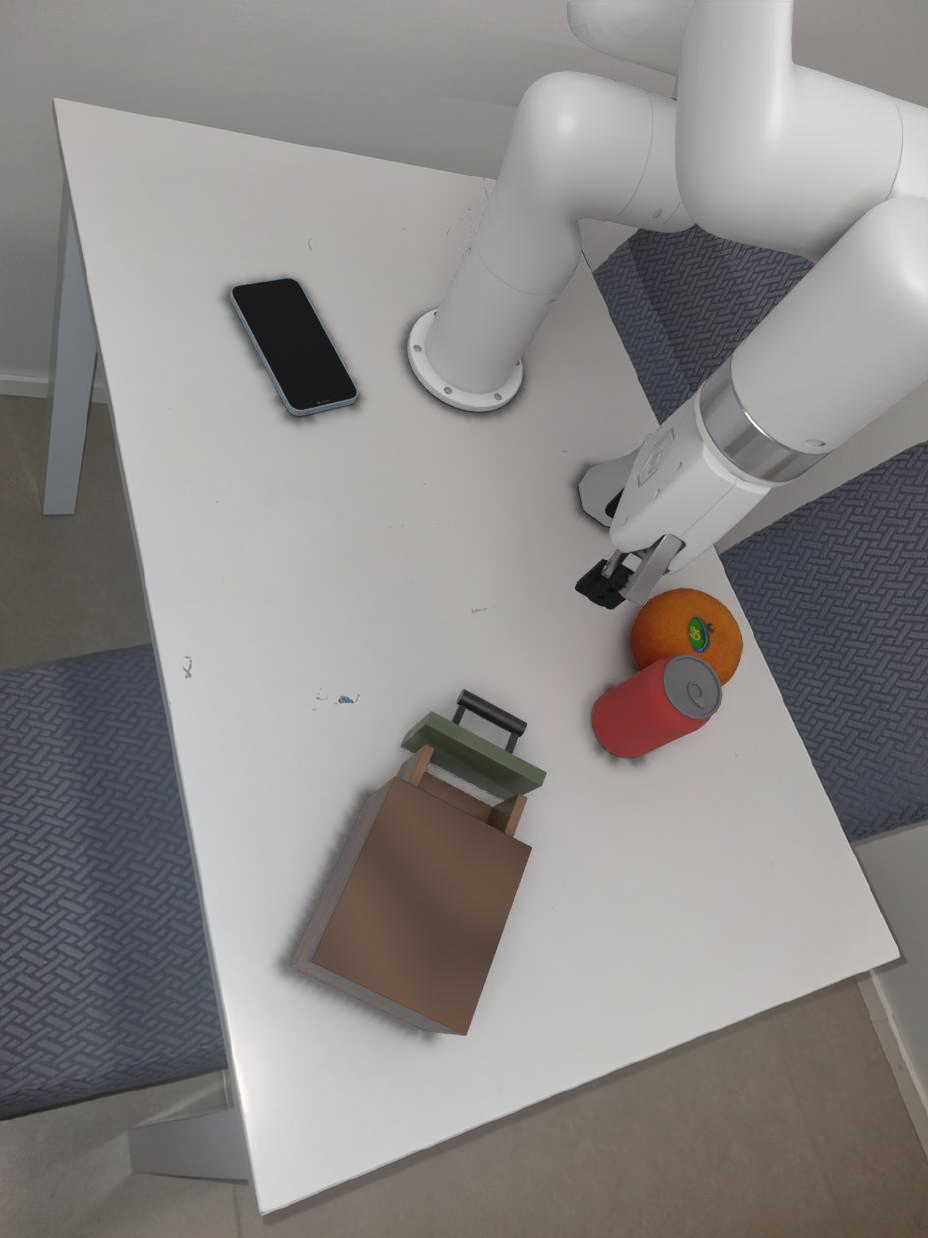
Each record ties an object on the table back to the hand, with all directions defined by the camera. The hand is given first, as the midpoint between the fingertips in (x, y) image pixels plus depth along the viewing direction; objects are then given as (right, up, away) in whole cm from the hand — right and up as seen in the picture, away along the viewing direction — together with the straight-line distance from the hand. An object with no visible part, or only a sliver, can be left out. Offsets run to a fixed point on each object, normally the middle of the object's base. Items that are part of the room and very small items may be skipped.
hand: (608, 556), depth 63 cm
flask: (+5, +8, +29) cm, 30 cm away
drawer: (-12, -20, +8) cm, 25 cm away
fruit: (+9, -8, +23) cm, 26 cm away
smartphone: (-27, +22, +22) cm, 41 cm away
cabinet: (-16, -27, +5) cm, 32 cm away
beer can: (+4, -15, +18) cm, 24 cm away
